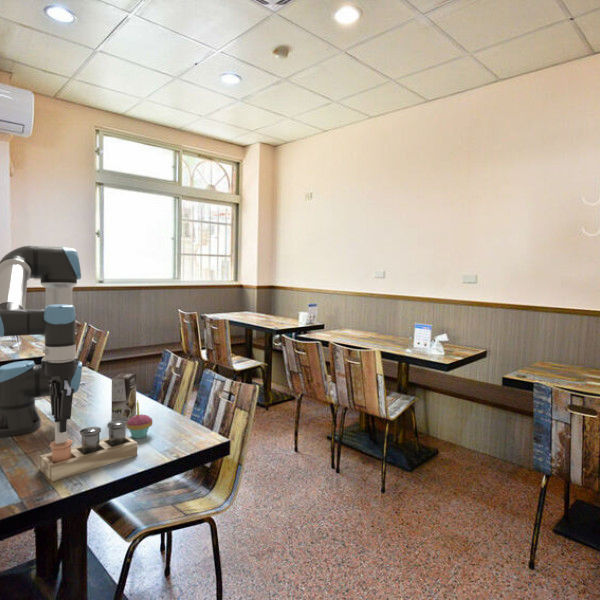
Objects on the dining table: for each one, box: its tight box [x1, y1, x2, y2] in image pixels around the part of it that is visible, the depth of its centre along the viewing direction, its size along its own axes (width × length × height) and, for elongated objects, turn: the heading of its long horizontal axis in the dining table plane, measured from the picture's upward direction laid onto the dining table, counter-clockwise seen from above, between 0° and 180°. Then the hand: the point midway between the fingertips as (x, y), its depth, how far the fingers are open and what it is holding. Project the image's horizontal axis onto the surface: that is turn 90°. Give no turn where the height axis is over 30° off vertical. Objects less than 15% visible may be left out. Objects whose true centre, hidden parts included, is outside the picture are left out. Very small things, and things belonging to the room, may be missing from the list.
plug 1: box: [79, 426, 102, 455], centre depth 127 cm, size 6×6×7 cm
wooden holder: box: [39, 435, 138, 483], centre depth 127 cm, size 10×24×4 cm, turn 138°
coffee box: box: [111, 372, 137, 421], centre depth 166 cm, size 9×6×16 cm
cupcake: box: [126, 399, 154, 439], centre depth 148 cm, size 9×8×12 cm
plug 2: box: [106, 420, 127, 447], centre depth 133 cm, size 6×6×7 cm
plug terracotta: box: [49, 438, 73, 464], centre depth 121 cm, size 6×6×7 cm
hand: (61, 442), depth 121 cm, fingers closed
